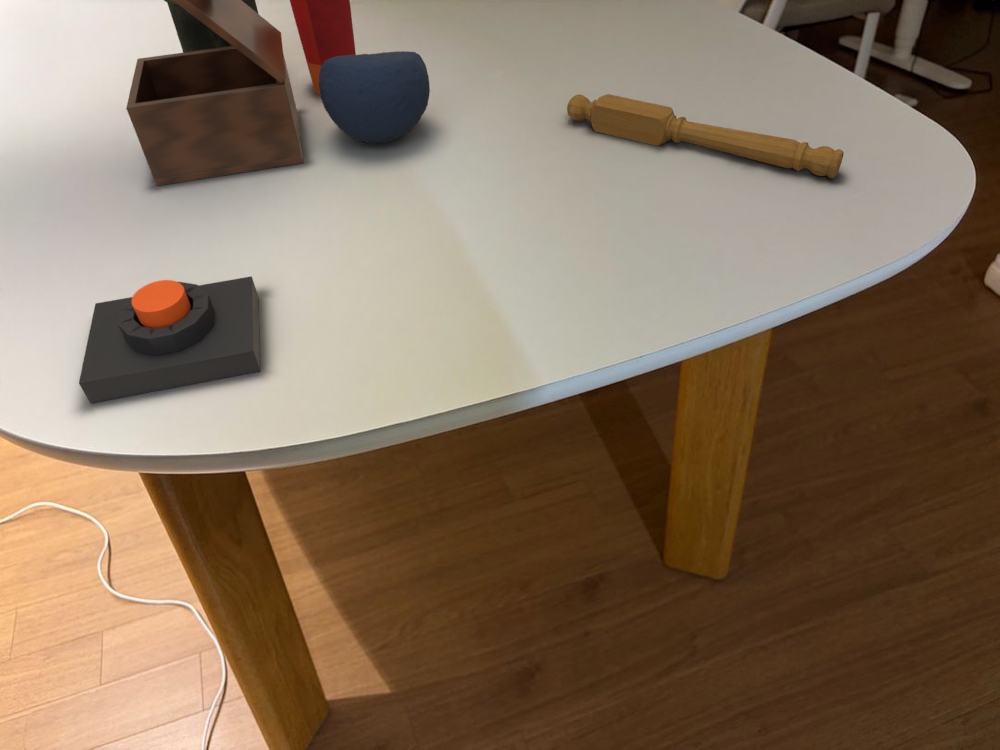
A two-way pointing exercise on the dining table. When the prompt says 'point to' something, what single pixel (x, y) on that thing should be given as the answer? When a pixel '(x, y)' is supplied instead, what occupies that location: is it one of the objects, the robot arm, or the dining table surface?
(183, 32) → the mug
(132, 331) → the switch block
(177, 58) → the box
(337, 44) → the red tall block
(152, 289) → the button
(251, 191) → the dining table surface
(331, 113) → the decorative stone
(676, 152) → the dining table surface
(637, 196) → the dining table surface
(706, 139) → the wooden table leg
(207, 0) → the box lid
